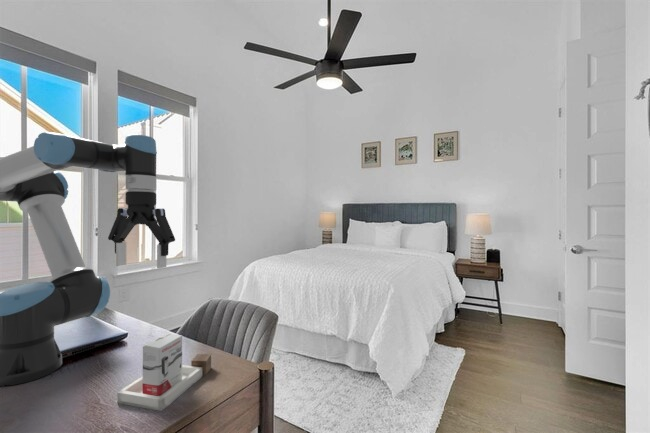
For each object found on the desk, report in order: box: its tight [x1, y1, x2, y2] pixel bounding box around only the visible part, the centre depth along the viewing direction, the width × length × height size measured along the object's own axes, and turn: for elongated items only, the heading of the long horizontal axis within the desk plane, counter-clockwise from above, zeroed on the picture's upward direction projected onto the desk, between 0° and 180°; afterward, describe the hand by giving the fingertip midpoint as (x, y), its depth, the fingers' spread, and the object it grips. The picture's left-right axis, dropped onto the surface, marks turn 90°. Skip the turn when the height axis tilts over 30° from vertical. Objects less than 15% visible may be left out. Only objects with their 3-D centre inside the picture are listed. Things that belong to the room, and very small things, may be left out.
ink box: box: [142, 333, 183, 396], centre depth 79 cm, size 9×5×12 cm, turn 167°
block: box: [190, 353, 212, 376], centre depth 88 cm, size 4×4×4 cm
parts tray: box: [116, 364, 203, 412], centre depth 79 cm, size 12×15×2 cm
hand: (141, 266), depth 90 cm, fingers open, 13 cm apart
